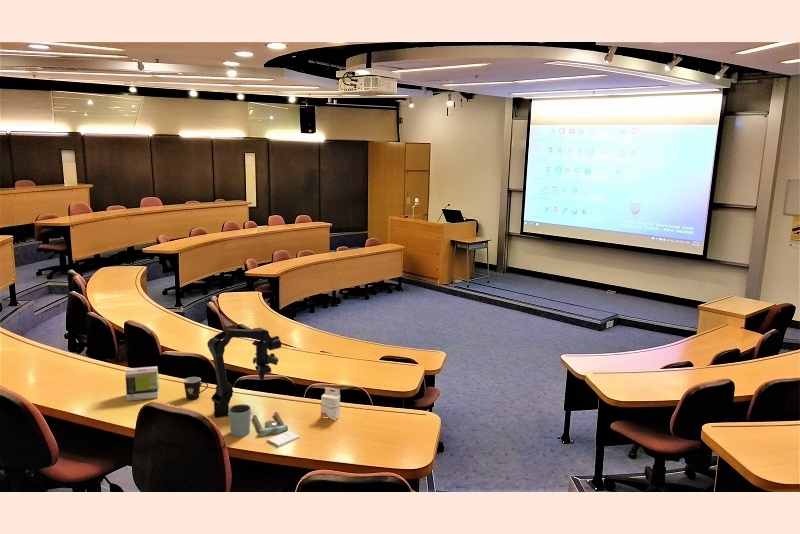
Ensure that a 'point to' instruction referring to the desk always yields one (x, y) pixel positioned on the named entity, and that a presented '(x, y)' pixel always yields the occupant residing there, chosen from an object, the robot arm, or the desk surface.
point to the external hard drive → (283, 438)
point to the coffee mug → (193, 387)
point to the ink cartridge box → (330, 403)
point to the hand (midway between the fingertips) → (261, 380)
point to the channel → (271, 430)
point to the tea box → (142, 383)
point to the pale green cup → (239, 420)
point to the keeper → (271, 424)
